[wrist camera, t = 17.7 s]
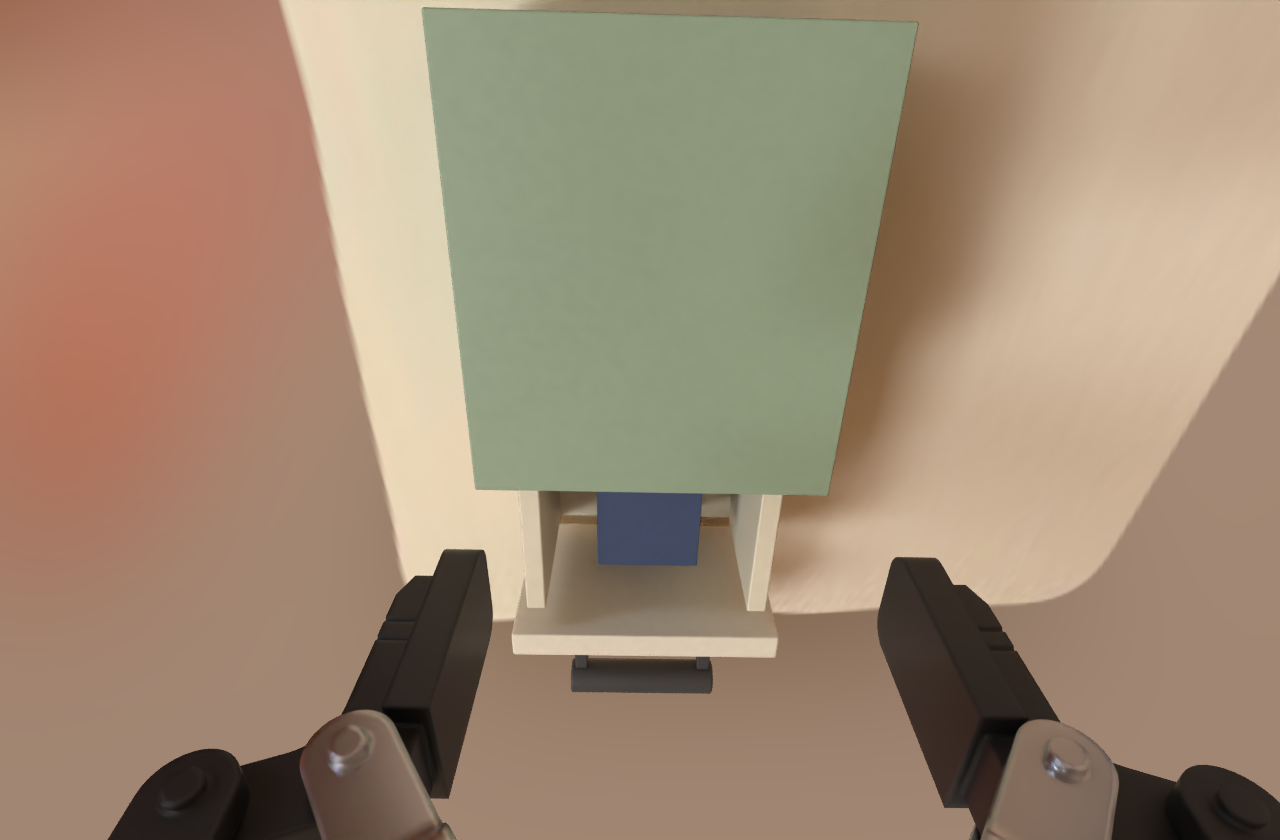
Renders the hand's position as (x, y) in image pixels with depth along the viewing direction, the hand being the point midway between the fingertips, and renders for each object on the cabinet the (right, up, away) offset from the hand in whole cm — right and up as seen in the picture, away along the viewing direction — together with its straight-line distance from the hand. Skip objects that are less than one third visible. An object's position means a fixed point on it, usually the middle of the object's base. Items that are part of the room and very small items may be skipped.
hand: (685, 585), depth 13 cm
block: (-1, +1, +19) cm, 19 cm away
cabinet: (0, +12, +16) cm, 19 cm away
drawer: (-1, 0, +21) cm, 21 cm away
